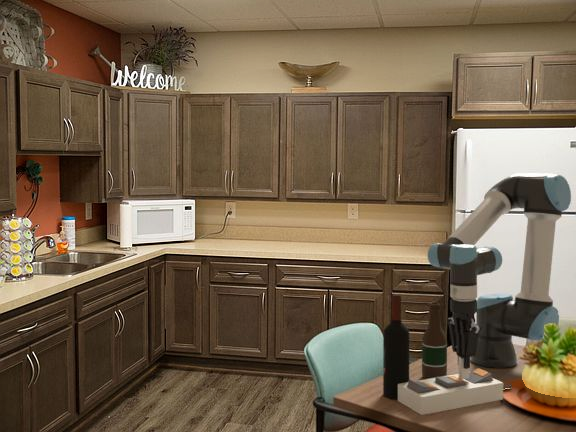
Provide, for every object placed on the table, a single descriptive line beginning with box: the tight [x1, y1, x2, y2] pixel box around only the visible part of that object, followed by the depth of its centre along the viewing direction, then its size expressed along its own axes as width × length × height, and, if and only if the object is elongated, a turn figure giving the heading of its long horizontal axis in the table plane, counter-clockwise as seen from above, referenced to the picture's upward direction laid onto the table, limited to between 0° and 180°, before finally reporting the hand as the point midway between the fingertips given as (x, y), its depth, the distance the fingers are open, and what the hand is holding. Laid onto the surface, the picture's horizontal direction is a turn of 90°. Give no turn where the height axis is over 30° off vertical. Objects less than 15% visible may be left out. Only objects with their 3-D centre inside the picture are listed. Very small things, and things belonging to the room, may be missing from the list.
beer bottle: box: [421, 301, 448, 379], centre depth 214 cm, size 8×8×24 cm
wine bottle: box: [382, 293, 410, 401], centre depth 198 cm, size 8×8×30 cm
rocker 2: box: [435, 375, 466, 389], centre depth 194 cm, size 6×6×2 cm
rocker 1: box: [407, 378, 439, 393], centre depth 191 cm, size 6×6×2 cm
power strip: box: [397, 371, 513, 416], centre depth 196 cm, size 36×12×5 cm, turn 113°
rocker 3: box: [465, 367, 493, 384], centre depth 198 cm, size 6×6×2 cm
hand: (463, 378), depth 196 cm, fingers closed
